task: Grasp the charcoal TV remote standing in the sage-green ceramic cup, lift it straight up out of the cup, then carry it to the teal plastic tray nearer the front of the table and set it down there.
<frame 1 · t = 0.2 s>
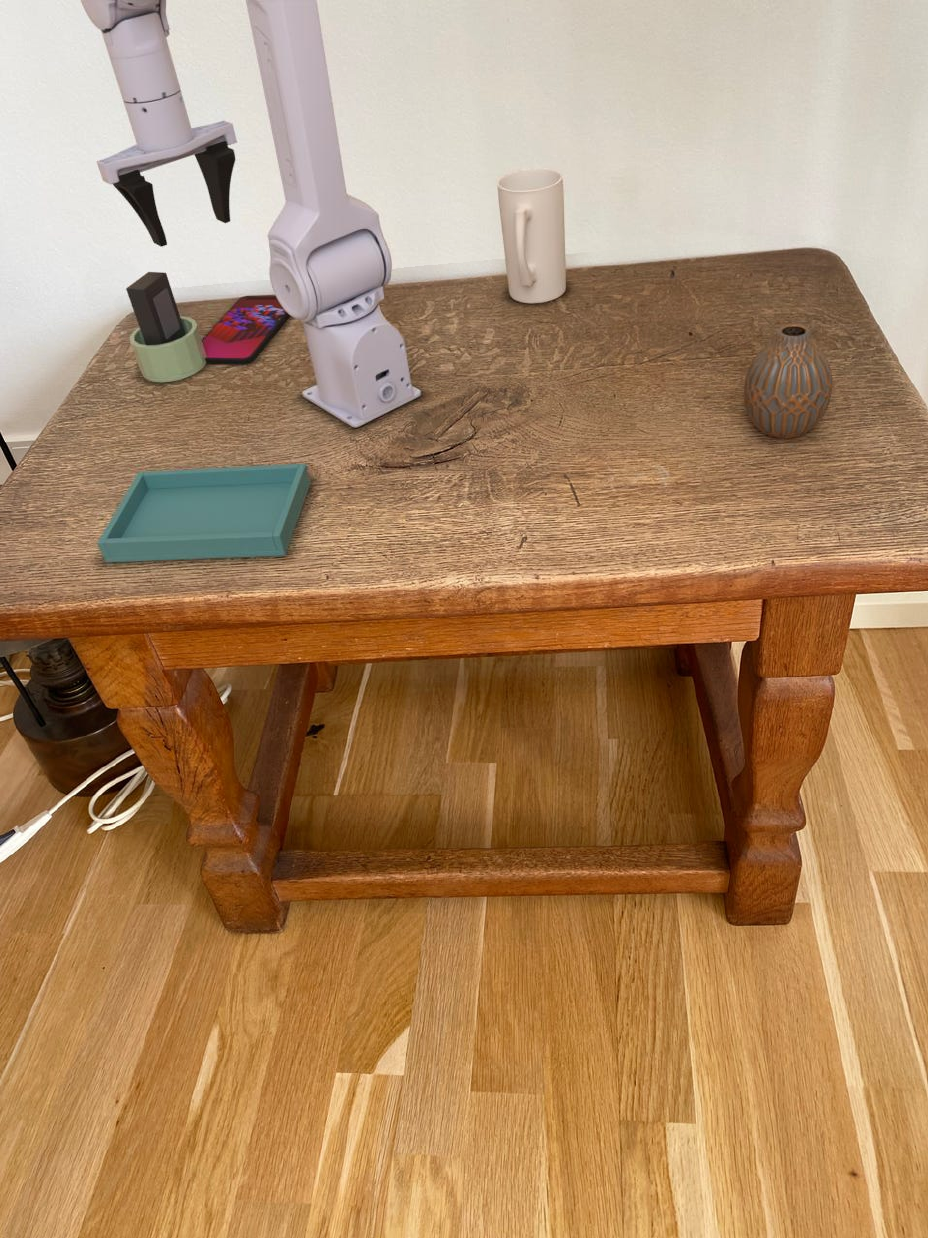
hand: (192, 231, 109), 10 cm above the table, tool pointing down, fingers open, 7 cm apart
vase: (783, 428, 86), on the table
cup: (174, 366, 108), on the table
smartphone: (247, 333, 112), on the table
mug: (534, 299, 110), on the table
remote: (173, 361, 107), resting on cup
tray: (211, 521, 85), on the table
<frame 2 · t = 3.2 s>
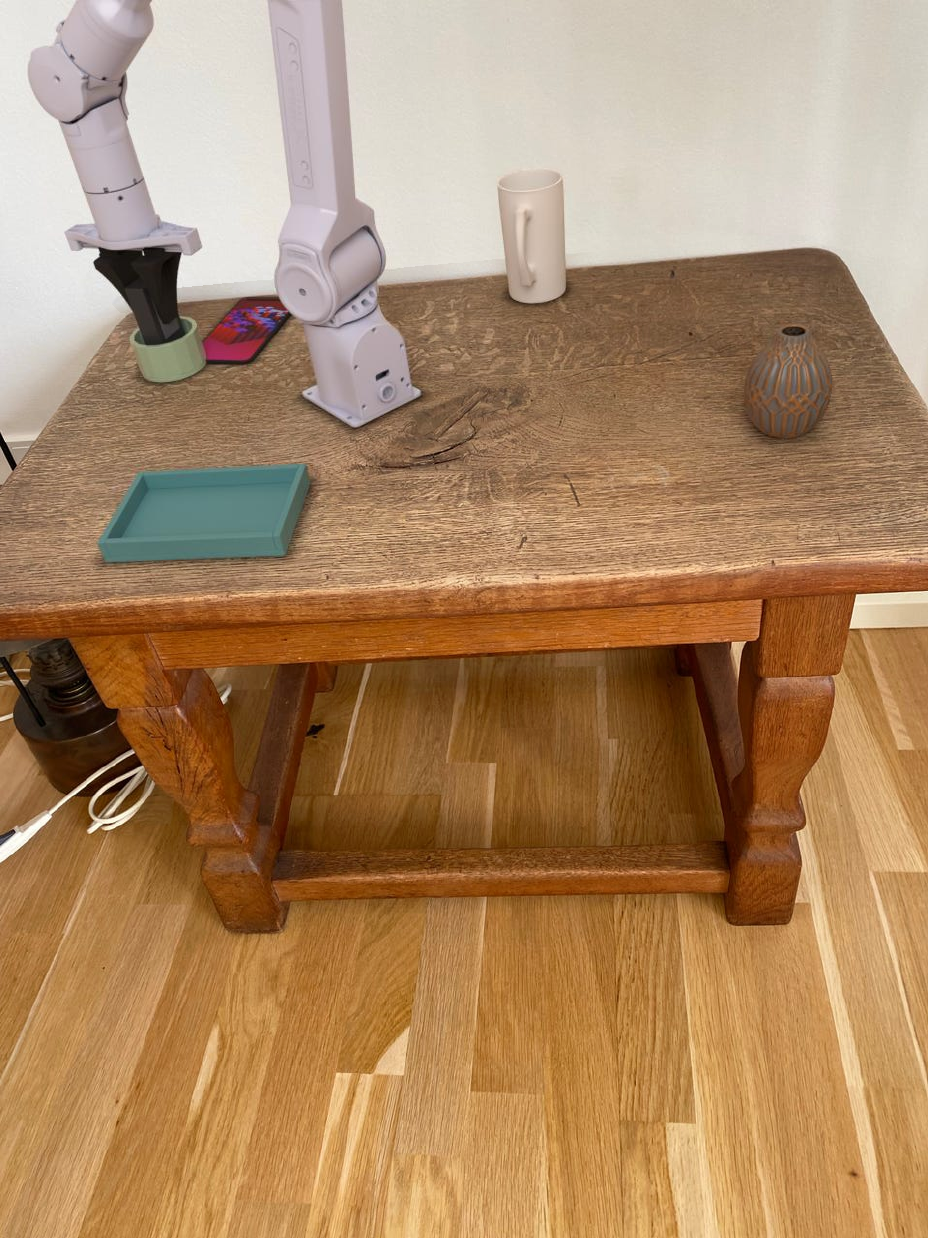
hand: (159, 318, 104), 5 cm above the table, tool pointing down, fingers closed on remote, 2 cm apart
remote: (173, 361, 107), point 1 cm above the table, touching cup, gripper
everything else where it was.
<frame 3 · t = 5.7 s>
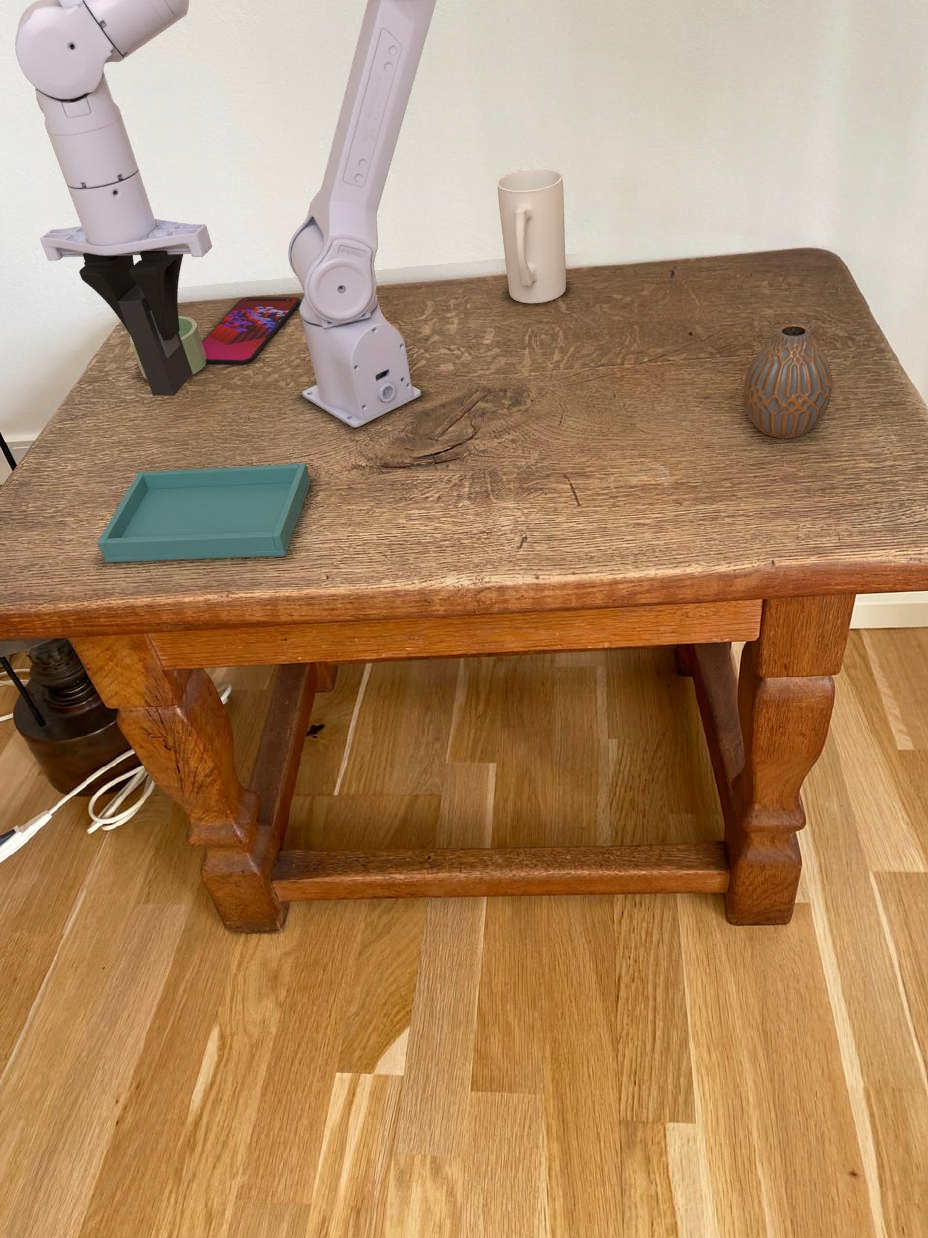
hand: (157, 335, 89), 10 cm above the table, tool pointing down, fingers closed on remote, 2 cm apart
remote: (173, 384, 92), point 6 cm above the table, touching gripper
everything else where it was.
when the fingers open (5 cm above the table, at t = 8.5 s): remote stays where it is, resting on tray.
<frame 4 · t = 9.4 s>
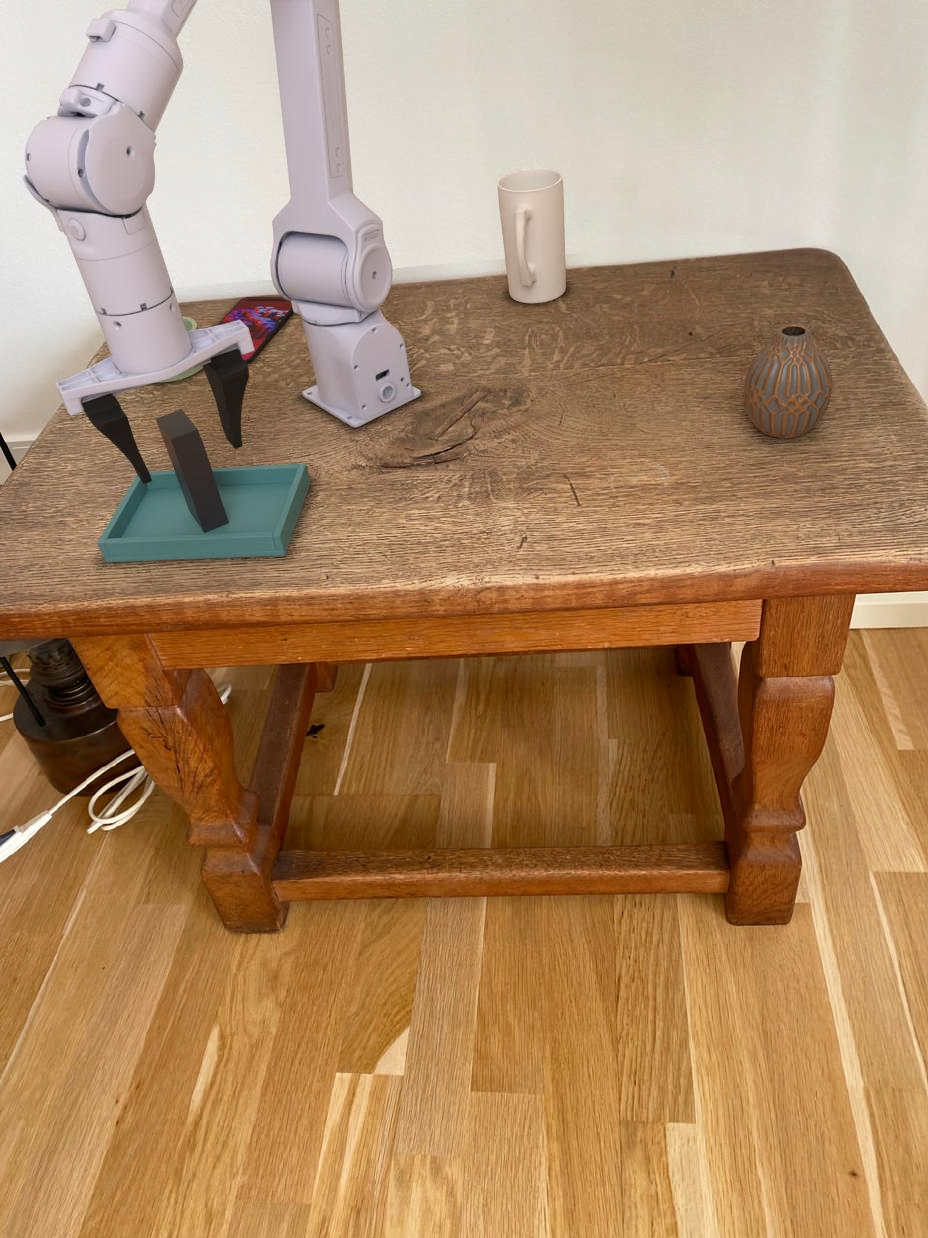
hand: (190, 459, 81), 6 cm above the table, tool pointing down, fingers open, 7 cm apart
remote: (209, 517, 84), resting on tray
everything else where it was.
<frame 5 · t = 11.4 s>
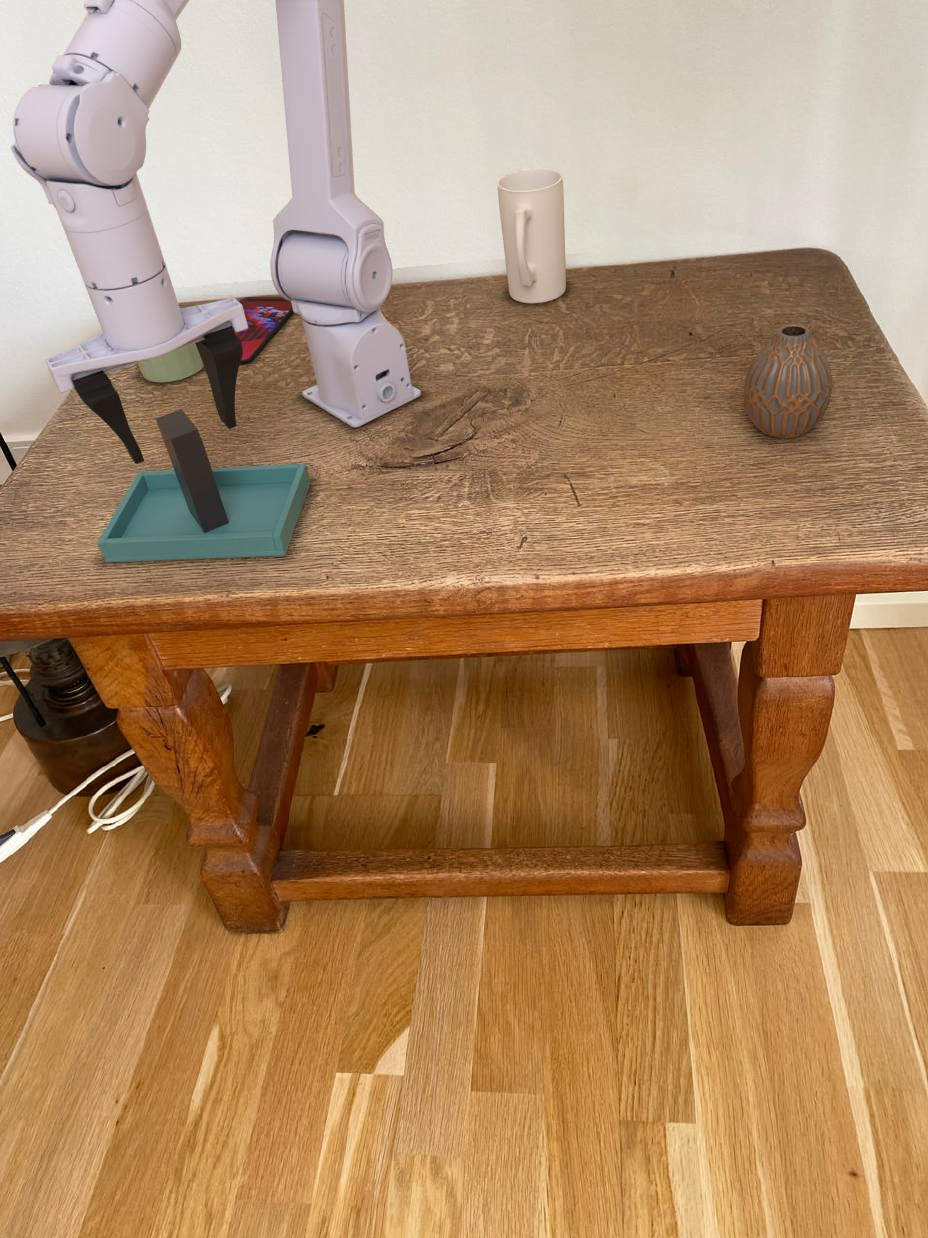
hand: (183, 439, 80), 8 cm above the table, tool pointing down, fingers open, 7 cm apart
nothing on the table moved.
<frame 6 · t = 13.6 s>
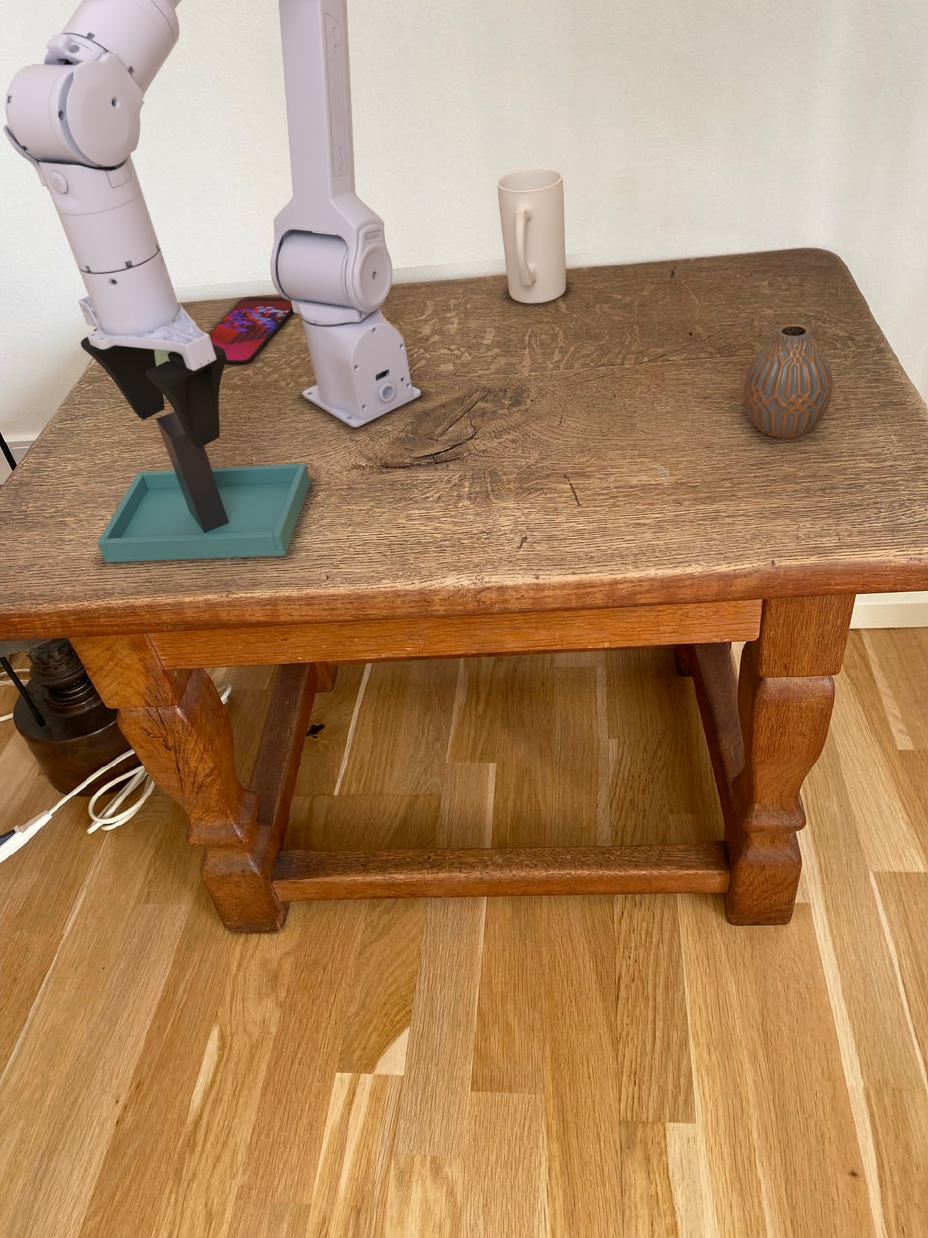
hand: (178, 427, 79), 9 cm above the table, tool pointing down, fingers open, 7 cm apart
nothing on the table moved.
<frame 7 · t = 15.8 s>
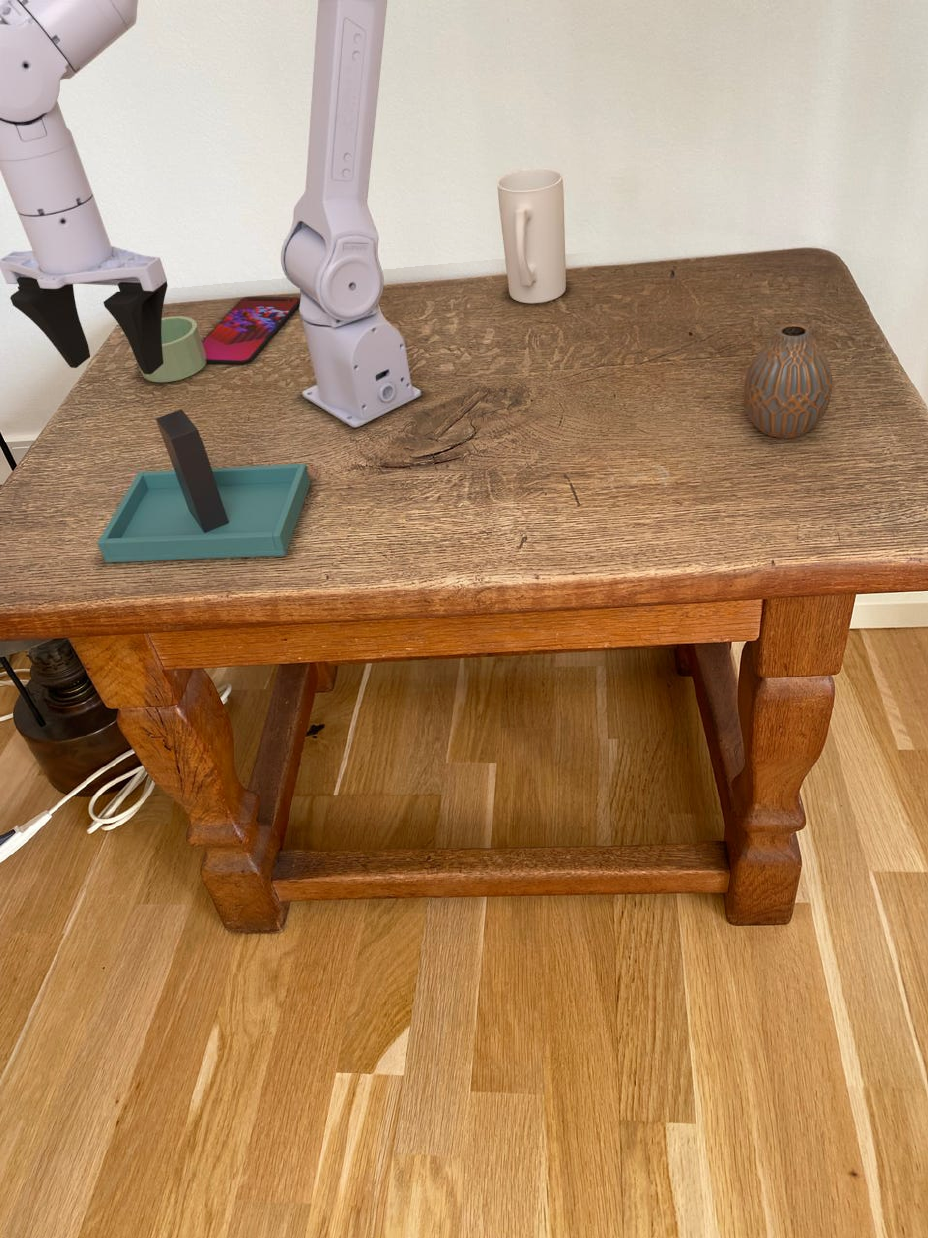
hand: (116, 365, 85), 10 cm above the table, tool pointing down, fingers open, 7 cm apart
nothing on the table moved.
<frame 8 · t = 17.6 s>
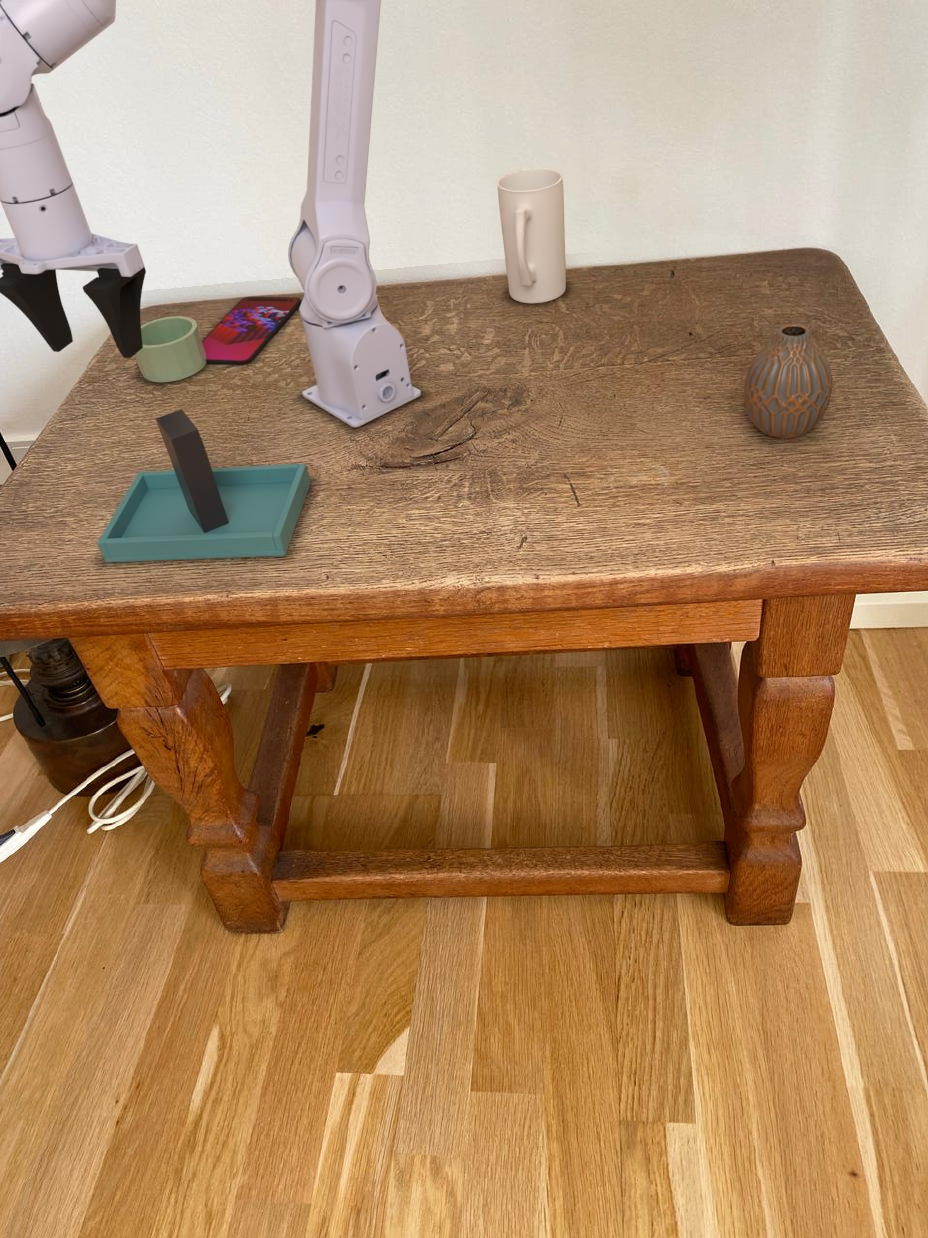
hand: (97, 349, 88), 10 cm above the table, tool pointing down, fingers open, 7 cm apart
nothing on the table moved.
at the end: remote inside the target area on the tray (0.1 cm from its centre), point 0.5 cm above the tray's base; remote touching tray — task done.
